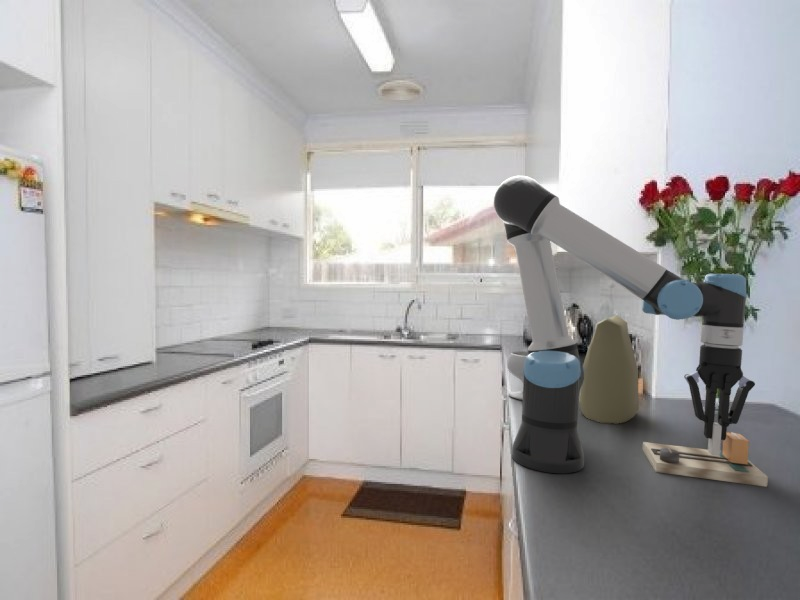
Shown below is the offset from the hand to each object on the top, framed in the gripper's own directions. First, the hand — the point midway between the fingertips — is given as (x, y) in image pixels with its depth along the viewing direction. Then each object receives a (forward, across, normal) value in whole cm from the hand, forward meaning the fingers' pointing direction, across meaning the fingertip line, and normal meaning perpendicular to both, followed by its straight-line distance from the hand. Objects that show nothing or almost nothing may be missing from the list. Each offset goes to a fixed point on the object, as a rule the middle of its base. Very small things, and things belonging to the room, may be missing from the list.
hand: (713, 453), depth 104 cm
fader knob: (+1, +4, 0) cm, 4 cm away
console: (+3, -3, 0) cm, 4 cm away
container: (+4, -17, +39) cm, 43 cm away
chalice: (+4, -41, +50) cm, 65 cm away
